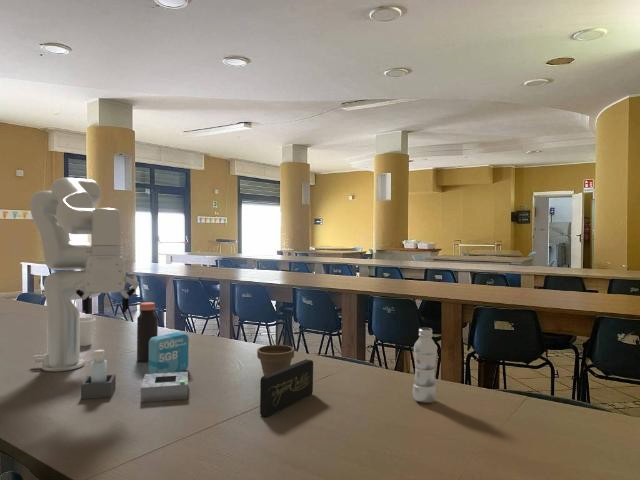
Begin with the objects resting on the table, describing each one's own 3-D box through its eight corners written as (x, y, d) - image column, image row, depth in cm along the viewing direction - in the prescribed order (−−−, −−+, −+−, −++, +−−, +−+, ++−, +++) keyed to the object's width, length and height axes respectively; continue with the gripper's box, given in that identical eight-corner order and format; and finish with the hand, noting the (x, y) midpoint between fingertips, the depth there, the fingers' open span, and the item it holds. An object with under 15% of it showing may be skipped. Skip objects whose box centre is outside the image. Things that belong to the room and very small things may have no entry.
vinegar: (160, 357, 170) (161, 302, 169) (152, 362, 163) (152, 305, 163) (142, 356, 171) (142, 301, 170) (133, 361, 164) (133, 304, 163)
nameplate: (265, 418, 117) (266, 378, 117) (260, 416, 118) (260, 377, 118) (312, 394, 135) (313, 359, 134) (307, 393, 136) (307, 358, 136)
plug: (89, 396, 130) (89, 353, 130) (92, 391, 134) (92, 349, 134) (105, 395, 131) (105, 352, 131) (107, 390, 135) (108, 348, 135)
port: (140, 402, 126) (140, 385, 126) (144, 387, 138) (145, 372, 137) (187, 399, 129) (187, 382, 129) (187, 384, 141) (187, 369, 141)
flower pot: (248, 380, 145) (249, 348, 145) (276, 373, 154) (276, 342, 153) (273, 390, 138) (274, 355, 137) (301, 381, 146) (302, 348, 146)
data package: (156, 378, 146) (156, 339, 146) (148, 375, 149) (148, 337, 149) (188, 369, 156) (188, 333, 156) (180, 367, 159) (180, 331, 158)
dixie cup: (99, 343, 188) (100, 318, 188) (79, 348, 181) (79, 322, 181) (87, 340, 193) (87, 316, 193) (67, 344, 186) (67, 319, 186)
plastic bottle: (437, 398, 132) (438, 327, 132) (434, 407, 126) (436, 332, 126) (414, 395, 135) (415, 325, 134) (410, 403, 128) (412, 330, 128)
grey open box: (80, 399, 128) (80, 384, 128) (86, 389, 135) (86, 375, 135) (111, 396, 130) (111, 382, 130) (115, 387, 137) (115, 374, 137)
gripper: (68, 252, 128) (69, 316, 128) (136, 252, 131) (136, 313, 132) (76, 251, 135) (76, 311, 135) (140, 251, 139) (140, 309, 139)
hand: (106, 312), depth 133 cm, fingers open, 9 cm apart
